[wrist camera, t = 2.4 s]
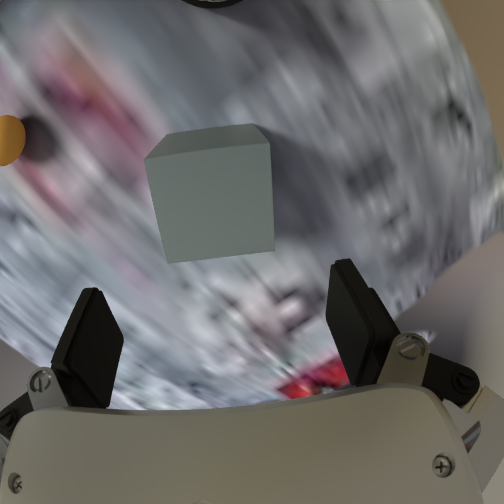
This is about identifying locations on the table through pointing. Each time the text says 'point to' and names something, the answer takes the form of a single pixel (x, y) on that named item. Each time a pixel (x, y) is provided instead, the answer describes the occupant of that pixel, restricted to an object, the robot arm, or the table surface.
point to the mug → (211, 3)
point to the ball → (11, 139)
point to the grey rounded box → (213, 192)
